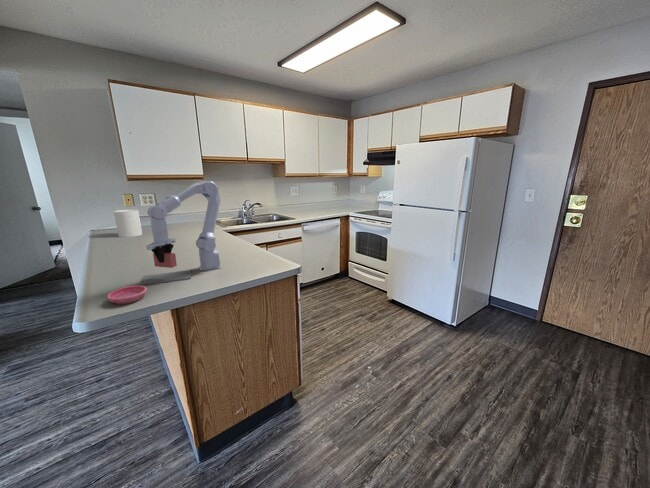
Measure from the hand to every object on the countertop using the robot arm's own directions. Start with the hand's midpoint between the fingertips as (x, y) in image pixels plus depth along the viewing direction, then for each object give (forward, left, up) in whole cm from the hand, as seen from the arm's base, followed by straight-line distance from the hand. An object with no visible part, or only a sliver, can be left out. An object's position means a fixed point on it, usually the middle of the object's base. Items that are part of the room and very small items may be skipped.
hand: (164, 261), depth 121 cm
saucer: (+11, +19, -9) cm, 24 cm away
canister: (+38, -122, -8) cm, 128 cm away
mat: (0, 0, -8) cm, 8 cm away
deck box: (0, 0, -2) cm, 2 cm away
